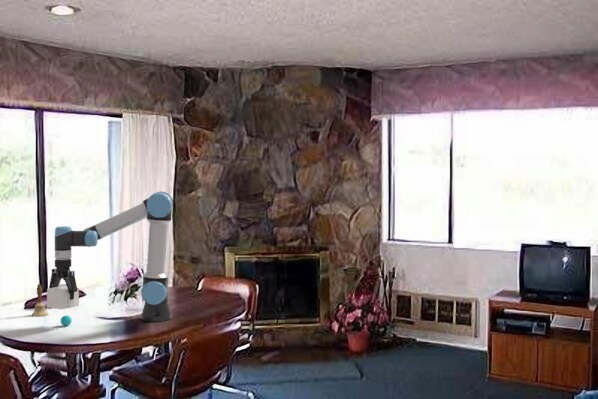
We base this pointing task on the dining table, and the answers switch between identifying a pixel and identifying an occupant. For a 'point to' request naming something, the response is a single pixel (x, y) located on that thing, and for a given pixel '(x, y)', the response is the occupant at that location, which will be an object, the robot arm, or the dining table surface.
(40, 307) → the hand bell
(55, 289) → the white box
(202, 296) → the dining table surface
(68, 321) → the ball
